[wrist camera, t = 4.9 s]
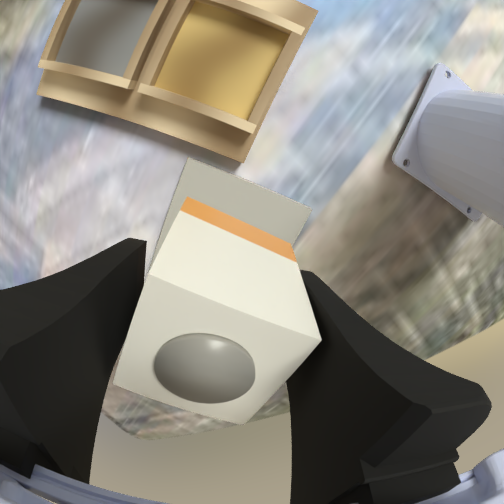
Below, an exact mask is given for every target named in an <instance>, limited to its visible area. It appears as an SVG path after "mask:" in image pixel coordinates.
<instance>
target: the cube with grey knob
mask: <svg viewBox="0 0 504 504" xmlns="http://www.w3.org/2000/svg"><path fill="white" fill-rule="evenodd" d="M321 341H322V340H321V336H320V333H319V330H318V327H317V323H316V320H315V317H314V314H313V310H312V307H311V304H310V301H309V298H308V295H307V292H306V288H305V285H304V282H303V279H302V276H301V273H300V270H299V267H298V264H297V261H296V258H295V255H294V252H293V249H292V246H291V244H290V243H288V242H286V241H284V240H282V239H280V238H277V237H275V236H273V235H271V234H269V233H267V232H265V231H262V230H260V229H258V228H256V227H254V226H252V225H249V224H247V223H245V222H243V221H241V220H239V219H236V218H234V217H232V216H230V215H228V214H225V213H223V212H221V211H219V210H217V209H214V208H212V207H210V206H208V205H206V204H203V203H201V202H199V201H197V200H194V199H192V198H190V197H188V196H187V198H186V199H185V201H184V203H183V205H182V207H181V209H180V211H179V213H178V215H177V217H176V218H175V220H174V222H173V224H172V226H171V228H170V230H169V232H168V234H167V236H166V238H165V240H164V242H163V244H162V246H161V248H160V250H159V252H158V254H157V257H156V259H155V261H154V263H153V265H152V267H151V269H150V271H149V273H148V276H147V279H146V281H145V284H144V287H143V290H142V292H141V295H140V298H139V301H138V304H137V307H136V310H135V313H134V316H133V319H132V322H131V325H130V328H129V331H128V334H127V337H126V340H125V343H124V347H123V350H122V353H121V356H120V360H119V363H118V366H117V370H116V373H115V377H114V380H113V384H114V385H116V386H119V387H121V388H124V389H126V390H129V391H131V392H134V393H137V394H139V395H142V396H145V397H147V398H150V399H153V400H156V401H159V402H162V403H165V404H168V405H171V406H174V407H177V408H181V409H184V410H187V411H190V412H194V413H197V414H201V415H204V416H208V417H212V418H216V419H220V420H223V421H228V422H232V423H236V424H240V425H244V424H245V423H246V422H247V421H248V420H249V419H250V418H251V417H252V416H253V415H254V414H255V413H256V412H257V411H258V410H259V409H260V408H261V407H262V406H263V405H264V404H265V403H266V402H267V401H268V400H269V399H270V398H271V397H272V395H273V394H274V393H275V392H276V391H277V390H278V389H279V388H280V387H281V386H282V385H283V384H284V383H285V382H286V380H287V379H288V378H289V377H290V376H291V375H292V374H293V373H294V372H295V371H296V369H297V368H298V367H299V366H300V365H301V364H302V363H303V362H304V360H305V359H306V358H307V357H308V356H309V355H310V353H311V352H312V351H313V350H314V349H315V348H316V346H317V345H318V344H319V343H320V342H321Z"/></svg>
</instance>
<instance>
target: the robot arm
mask: <svg viewBox="0 0 504 504" xmlns="http://www.w3.org/2000/svg"><path fill="white" fill-rule="evenodd" d="M445 72H446V73H447V75H448V76H447V77H446V76H445ZM405 159H407V164H406V165H405V166H404V164H403V163H404V160H405ZM392 161H393V163H394V164H395V165H396V166H398V167H399V168H401V169H402V170H404V171H405V172H407V173H408V174H410V175H411V176H413V177H414V178H416V179H417V180H418V181H420V182H421V183H423V184H424V185H426V186H427V187H428V188H430V189H431V190H433V191H434V192H435V193H437V194H438V195H439V196H441V197H442V198H444V199H445V200H446V201H448V202H449V203H450V204H451V205H453V206H454V207H455V208H457V209H458V210H459V211H460V212H462V213H463V214H464V215H466V216H467V217H468V218H469V219H470V220H472V221H474V222H475V221H477V220H478V219H479V217H480V215H481V214H482V213H483V214H484V215H486V216H487V217H489V218H491V219H492V220H494V221H495V222H497V223H498V224H500V225H501V226H503V227H504V94H498V93H490V92H480V91H473V90H472V89H471V88H470V87H469V86H468V85H467V84H465V83H464V82H463V81H462V80H461V79H460V78H459V77H458V76H457V75H456V74H455V73H454V72H453V71H451V70H450V69H449V68H448V67H447V66H446V65H445V64H443V63H437V64H435V66H434V68H433V70H432V72H431V75H430V77H429V79H428V82H427V84H426V86H425V88H424V91H423V93H422V95H421V97H420V99H419V102H418V104H417V106H416V108H415V110H414V112H413V114H412V116H411V119H410V121H409V123H408V125H407V127H406V129H405V131H404V133H403V135H402V137H401V139H400V141H399V143H398V145H397V147H396V149H395V151H394V153H393V155H392ZM468 207H469V209H468ZM467 209H468V211H467ZM146 243H147V241H144V240H138V239H133V238H127V239H125V240H123V241H121V242H119V243H117V244H115V245H113V246H111V247H109V248H108V249H106V250H104V251H102V252H100V253H98V254H96V255H94V256H92V257H90V258H88V259H86V260H84V261H82V262H80V263H78V264H76V265H74V266H72V267H70V268H67V269H65V270H63V271H60V272H58V273H56V274H53V275H50V276H47V277H45V278H42V279H39V280H36V281H33V282H29V283H26V284H22V285H19V286H15V287H12V288H8V289H3V290H0V504H53V503H51V502H49V501H47V500H45V499H48V500H50V501H52V502H55V503H57V504H168V503H162V502H157V501H152V500H147V499H142V498H137V497H132V496H128V495H125V494H121V493H117V492H113V491H109V490H106V489H102V488H99V487H96V486H93V485H89V478H90V470H91V462H92V454H93V448H94V442H95V436H96V432H97V426H98V422H99V417H100V413H101V408H102V404H103V400H104V396H105V393H106V389H107V385H108V382H109V378H110V375H111V372H112V370H113V367H114V364H115V362H116V360H117V358H118V355H119V353H120V351H121V348H122V346H123V344H124V342H125V339H126V337H127V334H128V331H129V328H130V325H131V322H132V319H133V316H134V313H135V310H136V307H137V304H138V301H139V298H140V295H141V292H142V290H143V287H144V271H145V256H146ZM300 273H301V276H302V279H303V282H304V285H305V288H306V292H307V295H308V298H309V301H310V304H311V307H312V310H313V314H314V317H315V320H316V323H317V327H318V330H319V333H320V336H321V340H322V341H321V342H320V343H319V344H318V345H317V346H316V348H315V349H314V350H313V351H312V352H311V353H310V355H309V356H308V357H307V358H306V359H305V360H304V362H303V363H302V364H301V365H300V366H299V367H298V368H297V369H296V371H295V372H294V373H293V374H292V375H291V376H290V377H289V378H288V379H287V380H286V383H287V389H288V394H289V402H290V414H291V435H292V480H291V499H290V504H504V449H502V450H499V451H497V452H495V453H493V454H491V455H490V456H488V457H487V458H485V459H484V460H483V461H481V462H480V463H479V464H478V465H476V466H475V467H474V468H473V469H472V470H470V471H467V472H465V473H462V474H460V475H458V473H457V470H456V468H455V466H454V463H453V462H456V461H457V460H458V459H459V455H458V452H457V450H456V448H457V447H458V446H460V445H461V444H462V443H463V442H464V441H465V440H466V439H467V438H468V437H469V436H471V435H472V434H473V433H474V432H475V431H476V430H477V429H478V428H479V427H480V426H481V425H482V424H483V422H484V421H485V420H486V418H487V417H488V415H489V413H490V410H491V407H492V406H491V401H490V400H489V398H488V396H487V395H486V393H485V391H484V390H483V388H482V387H481V386H480V385H479V384H477V383H475V382H472V381H469V380H467V379H464V378H461V377H459V376H456V375H453V374H451V373H449V372H446V371H444V370H442V369H440V368H438V367H436V366H434V365H432V364H430V363H428V362H426V361H424V360H422V359H420V358H419V357H417V356H415V355H413V354H412V353H410V352H408V351H407V350H405V349H403V348H402V347H400V346H399V345H397V344H396V343H394V342H393V341H391V340H390V339H389V338H387V337H386V336H384V335H383V334H382V333H380V332H379V331H378V330H376V329H375V328H374V327H372V326H371V325H370V324H369V323H368V322H366V321H365V320H364V319H363V318H362V317H361V316H359V315H358V314H357V313H356V312H355V311H354V310H353V309H351V308H350V307H349V306H348V305H347V304H346V303H345V302H344V301H343V300H342V299H341V298H340V297H339V296H338V295H337V294H336V293H334V292H333V291H332V290H331V289H330V288H329V287H328V286H327V285H326V284H325V283H324V282H323V281H322V280H321V279H320V278H319V277H317V276H316V275H315V274H314V273H312V272H310V271H304V270H300ZM39 496H41V497H43V498H45V499H43V498H41V497H39Z"/></svg>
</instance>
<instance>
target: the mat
mask: <svg viewBox="0 0 504 504" xmlns="http://www.w3.org/2000/svg"><path fill="white" fill-rule="evenodd" d="M187 196H188V197H190V198H192V199H194V200H197V201H199V202H201V203H203V204H206V205H208V206H210V207H212V208H214V209H217V210H219V211H221V212H223V213H225V214H228V215H230V216H232V217H234V218H236V219H239V220H241V221H243V222H245V223H247V224H249V225H252V226H254V227H256V228H258V229H260V230H262V231H265V232H267V233H269V234H271V235H273V236H275V237H277V238H280V239H282V240H284V241H286V242H288V243H290V244H291V246H293V244H294V243H295V241H296V239H297V237H298V235H299V233H300V232H301V230H302V228H303V226H304V224H305V222H306V220H307V219H308V217H309V215H310V213H311V211H312V209H311V207H308V206H306V205H304V204H302V203H299V202H297V201H295V200H293V199H290V198H288V197H286V196H284V195H281V194H279V193H277V192H274V191H272V190H270V189H267V188H265V187H263V186H260V185H258V184H256V183H253V182H251V181H248V180H246V179H244V178H241V177H239V176H236V175H234V174H231V173H229V172H226V171H224V170H221V169H219V168H216V167H214V166H211V165H209V164H206V163H204V162H201V161H198V160H196V159H193V158H190V157H189V158H188V159H187V162H186V164H185V167H184V170H183V172H182V175H181V178H180V180H179V183H178V186H177V188H176V191H175V194H174V197H173V199H172V202H171V205H170V208H169V211H168V214H167V216H166V219H165V222H164V225H163V228H162V231H161V234H160V237H159V240H158V244H157V247H156V250H155V253H154V256H153V259H152V263H151V266H150V269H151V267H152V265H153V263H154V261H155V259H156V257H157V254H158V252H159V250H160V248H161V246H162V244H163V242H164V240H165V238H166V236H167V234H168V232H169V230H170V228H171V226H172V224H173V222H174V220H175V218H176V217H177V215H178V213H179V211H180V209H181V207H182V205H183V203H184V201H185V199H186V198H187ZM150 269H149V271H150Z"/></svg>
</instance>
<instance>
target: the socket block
mask: <svg viewBox="0 0 504 504" xmlns="http://www.w3.org/2000/svg"><path fill="white" fill-rule="evenodd" d="M317 13H318V11H317V10H315V9H313V8H311V7H309V6H307V5H305V4H303V3H300V2H298V1H296V0H65V2H64V4H63V6H62V8H61V10H60V12H59V15H58V17H57V19H56V21H55V23H54V26H53V28H52V31H51V33H50V35H49V38H48V40H47V43H46V46H45V48H44V51H43V54H42V56H41V59H40V62H39V65H38V67H39V68H44V71H43V75H42V78H41V81H40V84H39V87H38V91H37V95H41V96H45V97H49V98H53V99H56V100H60V101H64V102H67V103H71V104H75V105H78V106H82V107H85V108H89V109H92V110H95V111H99V112H102V113H105V114H109V115H112V116H115V117H118V118H121V119H124V120H127V121H130V122H134V123H137V124H140V125H142V126H145V127H148V128H151V129H154V130H157V131H160V132H163V133H166V134H168V135H171V136H174V137H177V138H179V139H182V140H185V141H188V142H190V143H193V144H196V145H198V146H201V147H203V148H206V149H209V150H211V151H214V152H216V153H219V154H221V155H224V156H226V157H229V158H231V159H234V160H236V161H239V162H241V163H244V161H245V159H246V157H247V155H248V152H249V150H250V148H251V146H252V144H253V142H254V139H255V137H256V135H257V133H258V131H259V129H260V127H261V125H262V122H263V120H264V118H265V116H266V114H267V112H268V110H269V108H270V106H271V104H272V101H273V99H274V97H275V95H276V93H277V91H278V89H279V87H280V85H281V83H282V81H283V79H284V77H285V75H286V73H287V71H288V69H289V67H290V65H291V63H292V61H293V59H294V57H295V55H296V53H297V51H298V49H299V47H300V45H301V43H302V41H303V39H304V38H305V36H306V34H307V32H308V30H309V28H310V26H311V24H312V22H313V20H314V19H315V17H316V15H317Z"/></svg>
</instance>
